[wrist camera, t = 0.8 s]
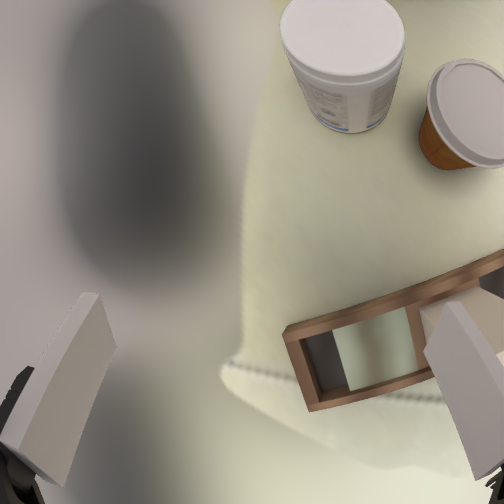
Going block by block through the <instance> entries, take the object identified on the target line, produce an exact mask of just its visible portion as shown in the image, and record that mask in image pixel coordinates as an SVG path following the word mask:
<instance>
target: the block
mask: <svg viewBox="0 0 504 504" xmlns="http://www.w3.org/2000/svg"><path fill="white" fill-rule="evenodd" d="M459 301H460V302H461V304H462V305H463V306H464V308H465V309H466V311H467V312H468V313H469V315H470V316H471V318H472V319H473V321H474V322H475V323H476V325H477V326H478V328H479V329H480V331H481V332H482V334H483V335H484V337H485V338H486V340H487V341H488V343H489V345H490V346H491V348H492V349H493V351H494V352H495V354H496V356H497V357H498V359H499V361H500V362H501V364H502V365H503V367H504V299H502V298H500V297H498V296H496V295H494V294H492V293H490V292H488V291H486V290H484V289H482V288H480V287H478V286H473V287H471V288H469V289H466V290H464V291H461V292H459V293H457V294H454V295H452V296H449V297H447V298H444V299H442V300H439V301H436V302H434V303H431V304H429V305H426V306H423V307H421V308H419V311H420V315H421V320H422V324H423V329H424V334H425V338H426V343H428V341H429V339H430V337H431V334H432V332H433V330H434V328H435V326H436V324H437V322H438V319H439V317H440V315H441V313H442V310H443V308H444V306H445V303H446V302H459Z"/></svg>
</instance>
